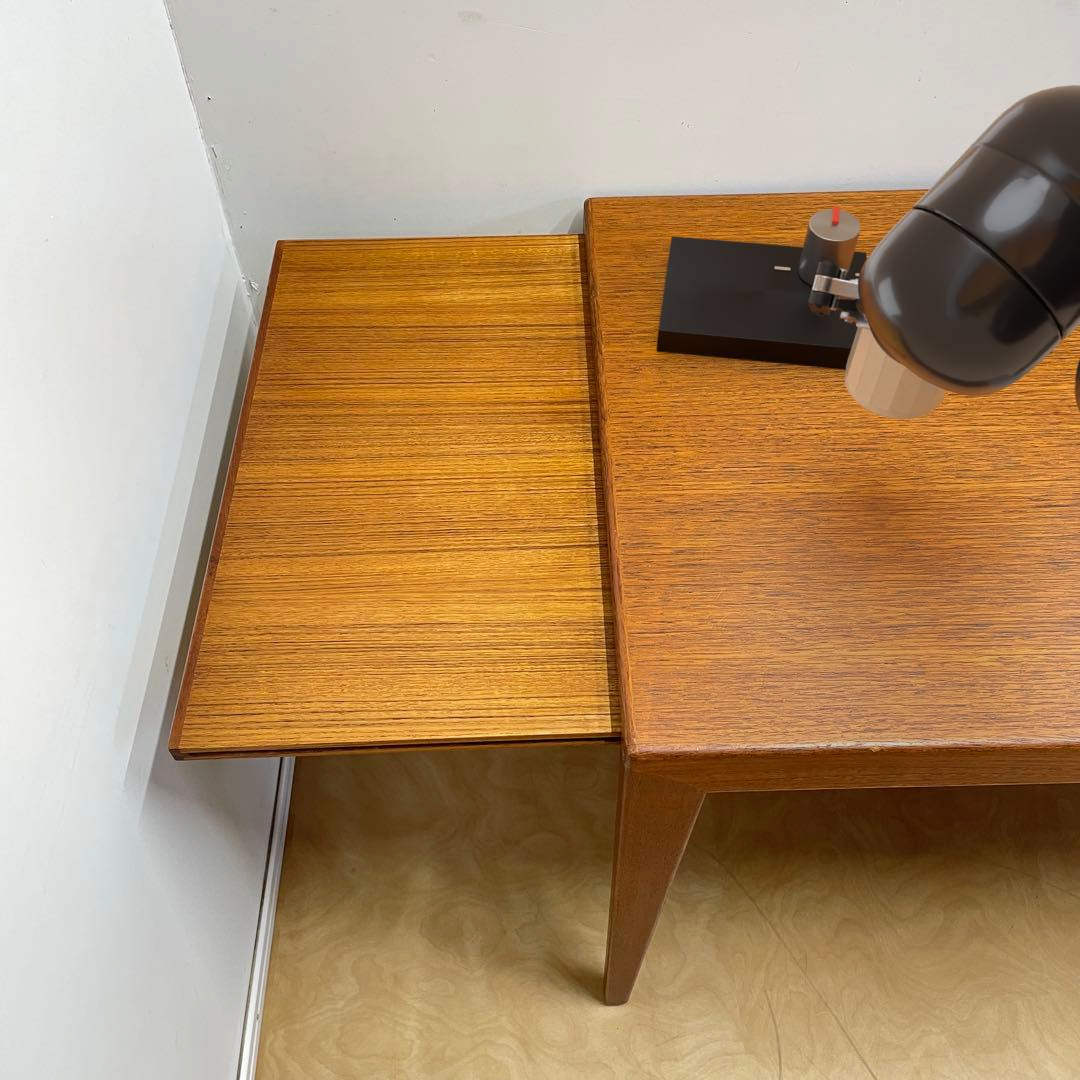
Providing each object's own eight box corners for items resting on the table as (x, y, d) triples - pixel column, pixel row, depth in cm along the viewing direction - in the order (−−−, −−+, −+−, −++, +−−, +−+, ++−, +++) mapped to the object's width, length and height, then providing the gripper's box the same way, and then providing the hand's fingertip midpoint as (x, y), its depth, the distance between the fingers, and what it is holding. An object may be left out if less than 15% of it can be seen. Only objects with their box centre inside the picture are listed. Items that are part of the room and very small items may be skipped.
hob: (863, 268, 94) (870, 245, 92) (866, 371, 86) (874, 348, 84) (670, 252, 96) (672, 229, 94) (656, 351, 88) (658, 328, 86)
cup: (940, 353, 70) (988, 236, 62) (948, 424, 67) (1000, 309, 58) (843, 345, 71) (877, 228, 63) (845, 414, 67) (882, 300, 59)
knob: (846, 291, 88) (860, 240, 84) (796, 285, 89) (808, 234, 84) (848, 259, 91) (862, 208, 86) (799, 254, 91) (811, 203, 87)
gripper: (788, 338, 53) (792, 352, 68) (1074, 399, 49) (1009, 400, 65) (827, 193, 51) (822, 242, 67) (1124, 247, 48) (1046, 285, 64)
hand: (915, 320), depth 66 cm, fingers closed on cup, 7 cm apart
